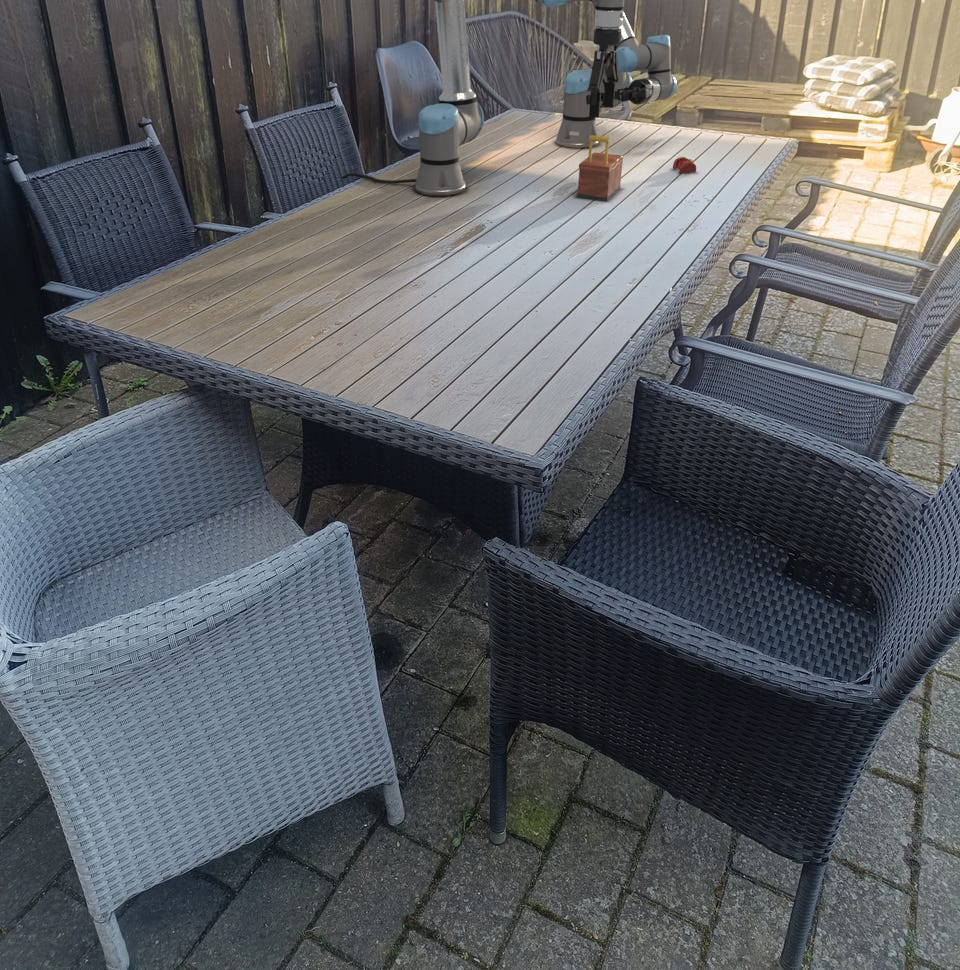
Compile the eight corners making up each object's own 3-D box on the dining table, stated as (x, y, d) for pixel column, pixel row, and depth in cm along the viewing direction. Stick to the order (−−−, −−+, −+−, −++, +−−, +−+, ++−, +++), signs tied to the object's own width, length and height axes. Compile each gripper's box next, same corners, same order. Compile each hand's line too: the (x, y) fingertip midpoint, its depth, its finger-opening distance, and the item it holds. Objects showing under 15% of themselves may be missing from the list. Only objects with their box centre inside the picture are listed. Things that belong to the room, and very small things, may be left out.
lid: (608, 171, 244) (611, 140, 239) (578, 167, 247) (580, 137, 242) (622, 159, 254) (625, 129, 249) (593, 156, 257) (595, 126, 252)
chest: (606, 201, 249) (609, 171, 244) (577, 197, 252) (579, 167, 247) (620, 188, 259) (622, 159, 254) (591, 185, 262) (593, 156, 257)
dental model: (688, 153, 276) (699, 160, 270) (686, 166, 279) (697, 173, 272) (672, 155, 275) (682, 161, 269) (670, 168, 278) (681, 175, 271)
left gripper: (607, 34, 216) (600, 122, 228) (634, 22, 234) (626, 104, 247) (580, 32, 218) (574, 120, 231) (608, 21, 237) (602, 102, 249)
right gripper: (676, 101, 271) (637, 109, 258) (612, 105, 287) (574, 113, 274) (675, 75, 267) (637, 82, 254) (611, 81, 284) (572, 88, 271)
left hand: (601, 112), depth 239 cm, fingers open, 13 cm apart
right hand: (604, 98), depth 264 cm, fingers open, 13 cm apart
